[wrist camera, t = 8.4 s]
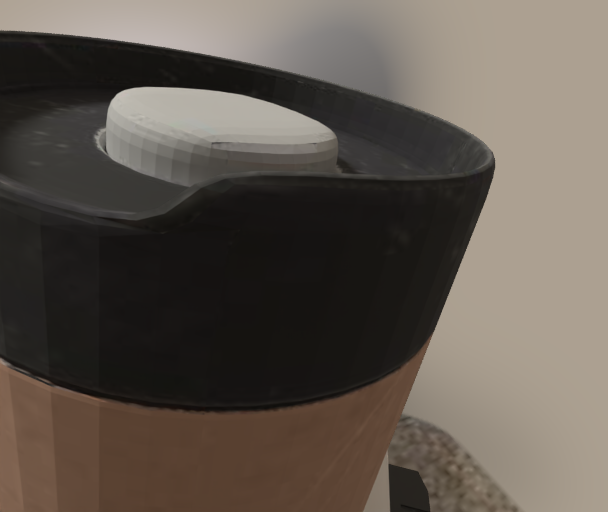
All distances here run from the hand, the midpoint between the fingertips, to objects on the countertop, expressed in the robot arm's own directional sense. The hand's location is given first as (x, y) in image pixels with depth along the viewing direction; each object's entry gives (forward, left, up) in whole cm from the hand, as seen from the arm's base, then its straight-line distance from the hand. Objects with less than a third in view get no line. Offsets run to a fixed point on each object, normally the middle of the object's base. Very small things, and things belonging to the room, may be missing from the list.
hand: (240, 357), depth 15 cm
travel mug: (+4, +3, -11) cm, 12 cm away
